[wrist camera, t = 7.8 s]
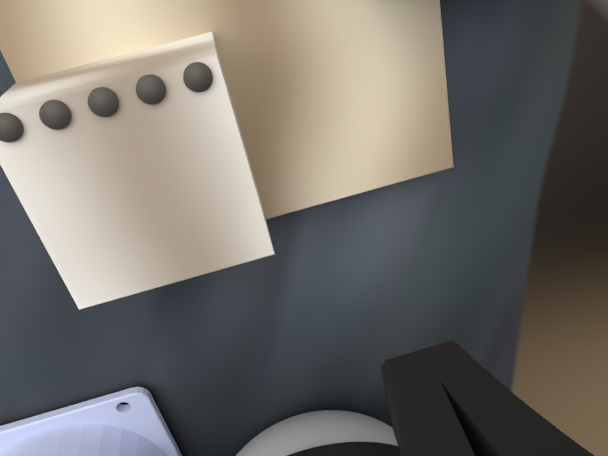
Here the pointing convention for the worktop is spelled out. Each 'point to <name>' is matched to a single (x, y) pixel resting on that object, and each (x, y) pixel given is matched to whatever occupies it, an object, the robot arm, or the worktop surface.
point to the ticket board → (285, 80)
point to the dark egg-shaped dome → (325, 436)
